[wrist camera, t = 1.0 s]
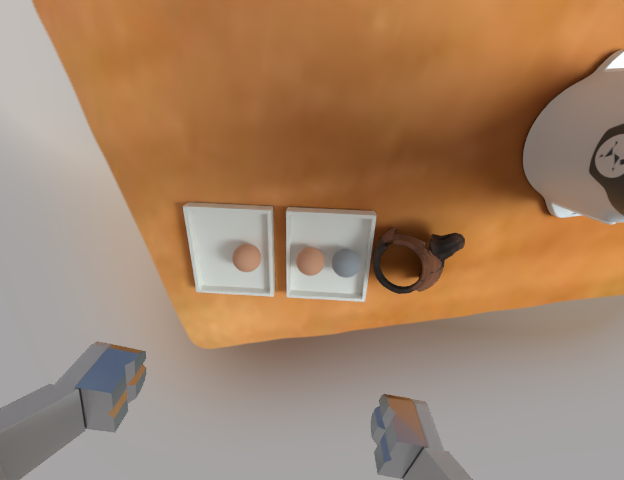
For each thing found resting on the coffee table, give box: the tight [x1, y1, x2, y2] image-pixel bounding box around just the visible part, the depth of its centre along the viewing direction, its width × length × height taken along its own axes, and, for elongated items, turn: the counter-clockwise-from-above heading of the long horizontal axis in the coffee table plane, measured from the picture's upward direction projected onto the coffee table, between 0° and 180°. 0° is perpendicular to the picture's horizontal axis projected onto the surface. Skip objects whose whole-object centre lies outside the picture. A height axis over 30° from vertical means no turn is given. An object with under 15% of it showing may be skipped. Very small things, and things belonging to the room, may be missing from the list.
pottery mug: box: [373, 227, 465, 294], centre depth 41 cm, size 12×10×8 cm
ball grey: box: [332, 249, 360, 278], centre depth 42 cm, size 4×4×4 cm
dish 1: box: [183, 202, 275, 297], centre depth 44 cm, size 12×14×2 cm
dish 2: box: [286, 207, 377, 302], centre depth 43 cm, size 12×14×2 cm
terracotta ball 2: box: [296, 247, 325, 276], centre depth 42 cm, size 4×4×4 cm
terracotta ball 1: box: [232, 244, 261, 272], centre depth 42 cm, size 4×4×4 cm
